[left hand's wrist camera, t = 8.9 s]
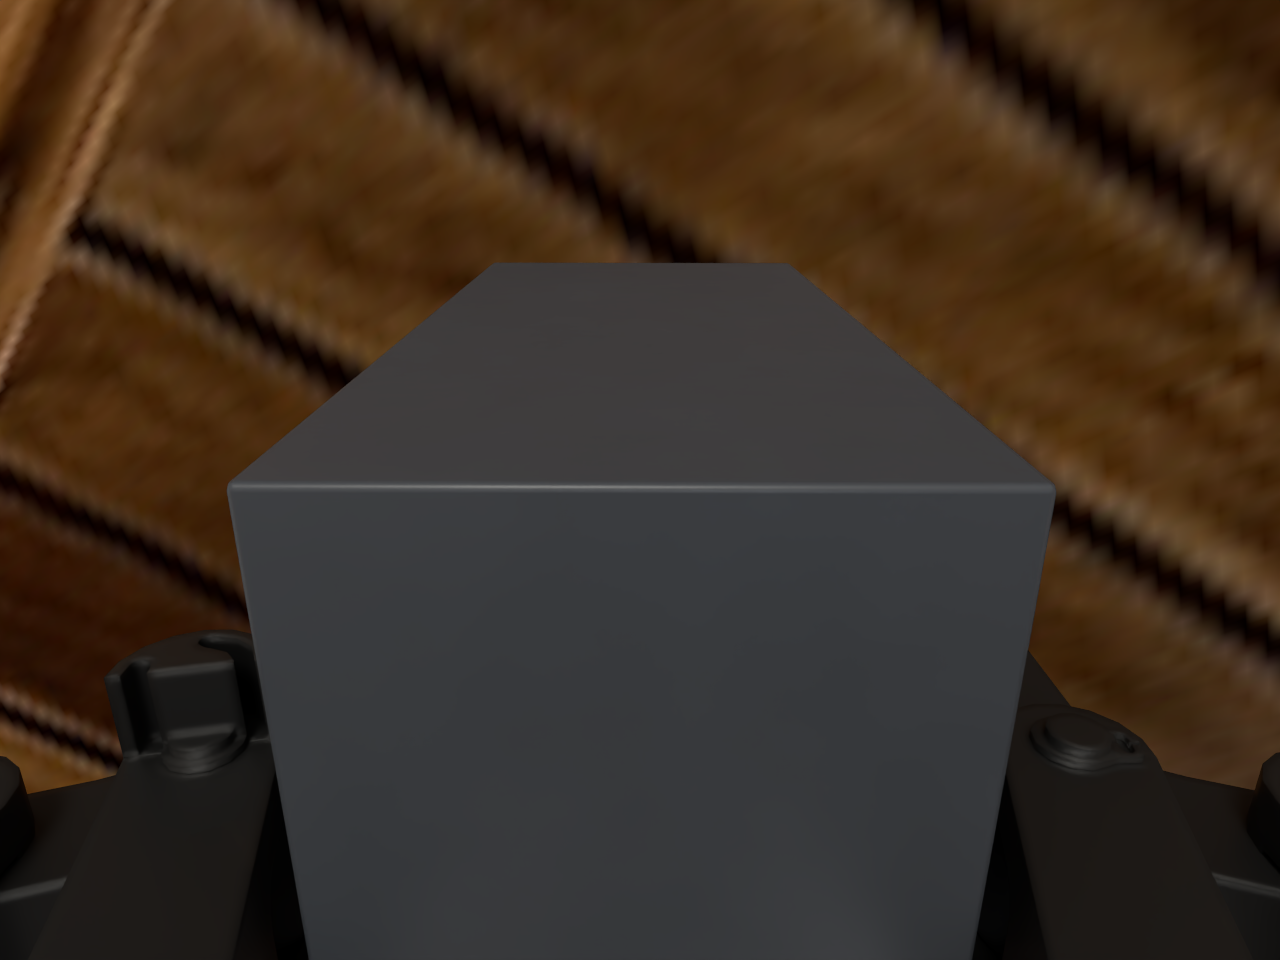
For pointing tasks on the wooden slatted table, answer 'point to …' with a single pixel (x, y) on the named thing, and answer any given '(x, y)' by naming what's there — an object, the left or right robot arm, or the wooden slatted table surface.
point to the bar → (640, 629)
